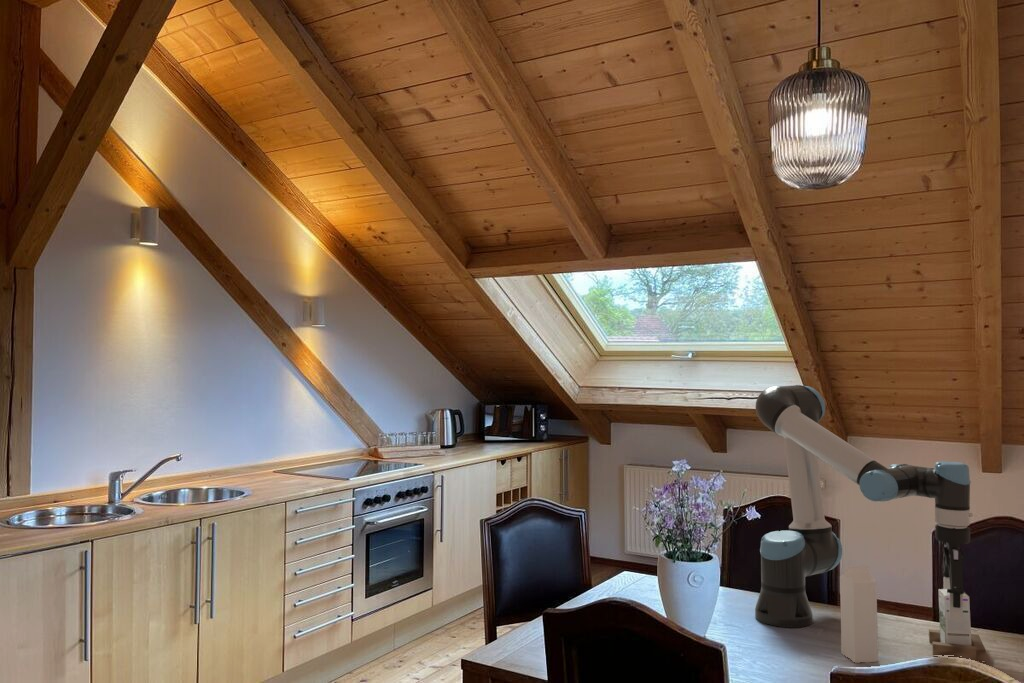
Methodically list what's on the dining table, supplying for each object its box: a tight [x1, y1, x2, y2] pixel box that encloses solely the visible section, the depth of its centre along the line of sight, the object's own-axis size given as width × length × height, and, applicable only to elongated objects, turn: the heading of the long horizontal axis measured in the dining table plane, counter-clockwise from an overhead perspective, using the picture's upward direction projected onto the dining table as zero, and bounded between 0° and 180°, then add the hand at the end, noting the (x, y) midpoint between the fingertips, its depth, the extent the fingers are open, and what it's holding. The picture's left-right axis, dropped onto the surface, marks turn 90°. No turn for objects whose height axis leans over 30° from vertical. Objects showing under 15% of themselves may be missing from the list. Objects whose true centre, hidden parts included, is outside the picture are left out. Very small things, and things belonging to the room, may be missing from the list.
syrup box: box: [938, 588, 972, 646], centre depth 193 cm, size 6×6×14 cm
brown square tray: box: [928, 628, 987, 664], centre depth 193 cm, size 11×12×3 cm
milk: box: [839, 564, 879, 664], centre depth 189 cm, size 6×6×22 cm
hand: (952, 611), depth 193 cm, fingers open, 13 cm apart
